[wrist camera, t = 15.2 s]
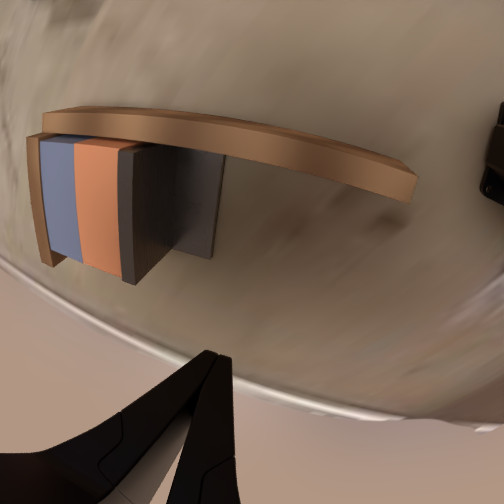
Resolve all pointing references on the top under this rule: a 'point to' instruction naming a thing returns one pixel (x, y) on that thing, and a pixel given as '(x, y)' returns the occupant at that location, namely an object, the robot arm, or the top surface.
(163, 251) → the bookend
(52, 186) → the blue-grey rectangular block
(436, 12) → the top surface
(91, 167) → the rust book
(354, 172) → the shelf
